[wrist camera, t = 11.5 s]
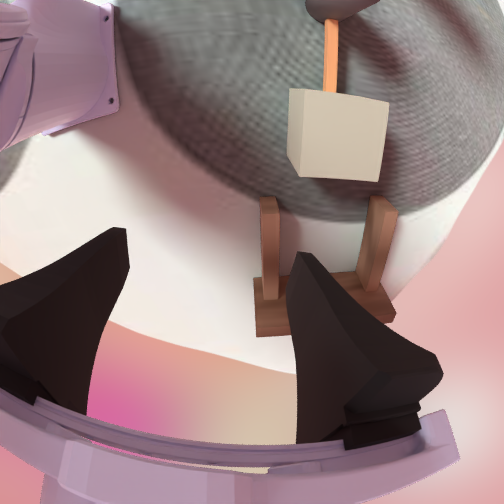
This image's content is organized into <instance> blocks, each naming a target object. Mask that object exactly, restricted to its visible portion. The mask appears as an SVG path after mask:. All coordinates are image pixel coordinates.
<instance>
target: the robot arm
mask: <svg viewBox="0 0 504 504" xmlns="http://www.w3.org/2000/svg"><path fill="white" fill-rule="evenodd" d="M107 17H109V19H108V20H107V21H106V22H105V19H106V18H107ZM111 98H113V99H114V102H113V104H111V103H110V99H111ZM118 110H119V98H118V88H117V78H116V66H115V49H114V6H113V4H111V3H106V4H104V5H101V6H97V5H95V4H92V3H89V2H87V1H84V0H16V1H14V2H12V3H11V4H6V3H0V152H1V151H2V150H4V149H6V148H8V147H10V146H12V145H14V144H16V143H18V142H20V141H23V140H25V139H27V138H29V137H31V136H34V135H36V134H39V133H42V135H44V136H46V135H48V134H51V133H53V132H56V131H59V130H61V129H64V128H67V127H70V126H73V125H76V124H79V123H82V122H85V121H88V120H91V119H95V118H98V117H102V116H105V115H109V114H113V113H115V112H117V111H118ZM129 269H130V264H129V255H128V246H127V235H126V229H125V228H117V227H112V228H110V229H108V230H107V231H105V232H103V233H101V234H100V235H98V236H97V237H95V238H93V239H92V240H90V241H89V242H87V243H85V244H84V245H82V246H81V247H79V248H77V249H76V250H74V251H72V252H71V253H69V254H67V255H66V256H64V257H62V258H61V259H59V260H57V261H55V262H54V263H52V264H50V265H48V266H46V267H44V268H42V269H40V270H38V271H36V272H33V273H31V274H29V275H26V276H24V277H22V278H19V279H17V280H14V281H11V282H8V283H5V284H2V285H0V445H1V446H2V447H4V448H5V449H7V450H8V451H10V452H11V453H12V454H14V455H16V456H17V457H19V458H20V459H22V460H23V461H25V462H26V463H28V464H30V465H31V466H33V467H35V468H36V469H38V470H40V471H42V472H43V473H45V475H44V480H43V486H42V493H41V499H40V504H360V503H363V502H367V501H370V500H373V499H376V498H379V497H382V496H384V495H387V494H390V493H392V492H395V491H397V490H400V489H402V488H405V487H407V486H409V485H412V484H414V483H416V482H418V481H420V480H423V479H425V478H427V477H429V476H431V475H433V474H435V473H437V472H439V471H441V470H443V469H444V468H446V467H448V466H450V465H452V464H454V463H456V462H457V461H459V460H460V456H459V452H458V449H457V445H456V442H455V439H454V436H453V432H452V429H451V426H450V423H449V420H448V417H447V414H446V411H445V410H444V409H442V410H439V411H436V412H433V413H430V414H427V415H424V416H423V417H420V418H418V415H417V412H418V411H420V409H421V407H420V404H419V401H420V400H421V399H422V398H424V397H425V396H426V395H427V394H428V393H429V392H431V391H432V390H433V389H434V388H435V387H436V386H437V385H438V384H439V382H440V381H441V380H442V377H443V374H444V373H443V371H442V368H441V366H440V364H439V361H438V359H437V357H436V355H435V354H433V353H432V352H430V351H428V350H425V349H424V348H422V347H420V346H417V345H416V344H414V343H412V342H410V341H409V340H407V339H405V338H404V337H402V336H400V335H399V334H397V333H396V332H394V331H393V330H391V329H390V328H389V327H387V326H386V325H384V324H383V323H382V322H380V321H379V320H378V319H376V318H375V317H374V316H373V315H371V314H370V313H369V312H368V311H367V310H366V309H364V308H363V307H362V306H361V305H360V304H359V303H358V302H357V301H356V300H355V299H354V298H353V297H352V296H351V295H350V294H349V293H348V292H346V290H345V289H344V288H343V287H342V286H341V285H340V284H339V283H338V282H337V281H336V280H335V279H334V278H333V276H332V275H331V274H330V273H329V272H328V271H327V270H326V269H325V267H324V266H323V265H322V264H321V263H320V262H319V261H318V260H317V259H316V257H315V256H314V255H313V254H312V253H306V252H298V251H297V255H296V258H295V261H294V264H293V267H292V270H291V273H290V276H289V279H288V282H287V285H286V288H285V289H286V308H287V314H288V320H289V325H290V330H291V336H292V341H293V346H294V352H295V359H296V374H297V432H296V433H297V434H296V444H291V445H238V444H221V443H210V442H209V443H208V442H200V441H192V440H185V439H178V438H172V437H165V436H161V435H155V434H150V433H146V432H141V431H137V430H132V429H129V428H125V427H120V426H117V425H114V424H110V423H107V422H104V421H100V420H97V419H94V418H91V417H88V416H86V414H87V413H86V412H87V401H88V393H89V386H90V380H91V375H92V369H93V365H94V361H95V356H96V352H97V349H98V345H99V342H100V338H101V335H102V332H103V330H104V327H105V325H106V323H107V321H108V318H109V316H110V314H111V312H112V310H113V308H114V305H115V303H116V301H117V299H118V297H119V295H120V293H121V291H122V289H123V286H124V284H125V281H126V278H127V275H128V272H129ZM81 436H82V437H81ZM83 437H84V438H83ZM85 438H87V439H85ZM88 439H90V440H93V441H96V442H99V443H102V444H105V445H108V446H112V447H115V448H119V449H122V450H126V451H130V452H134V453H138V454H143V455H147V456H151V457H156V458H161V459H167V460H173V461H179V462H186V463H194V464H203V465H213V466H228V467H270V468H269V469H268V473H266V474H257V473H256V474H255V473H243V472H237V471H231V470H221V469H211V468H202V467H194V466H186V465H179V464H173V463H167V462H161V461H156V460H151V459H146V458H142V457H137V456H134V455H130V454H126V453H122V452H119V451H115V450H112V449H108V448H105V447H102V446H99V445H96V444H93V443H92V442H91V441H90V440H88Z"/></svg>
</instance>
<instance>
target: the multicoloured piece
mask: <svg viewBox="0 0 504 504" xmlns="http://www.w3.org/2000/svg"><path fill="white" fill-rule="evenodd" d="M379 1H380V0H306V2H305V6H306V9H307V11H308V13H309V14H310V15H311V16H312V17H313V18H314V19H316V20H317V21H319V22H322V23H325V52H324V80H323V91H318V90H309V89H291V88H289V114H288V135H287V154H286V155H287V156H288V158H289V160H290V161H291V163H292V165H293V167H294V168H295V170H296V172H297V173H298V175H299V177H318V178H335V179H349V180H362V181H373V182H378V179H379V173H380V168H381V162H382V156H383V150H384V143H385V136H386V128H387V120H388V111H389V103H387V102H383V101H378V100H374V99H369V98H364V97H358V96H353V95H347V94H340V93H336V84H337V62H338V23H339V22H341V21H342V20H344V19H346V18H348V17H350V16H351V15H353V14H355V13H357V12H359V11H361V10H363V9H365V8H367V7H369V6H371V5H373V4H375V3H377V2H379Z"/></svg>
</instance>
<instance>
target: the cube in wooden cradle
mask: <svg viewBox="0 0 504 504" xmlns="http://www.w3.org/2000/svg"><path fill="white" fill-rule="evenodd" d="M397 216H398V211H397V210H396V209H395V208H394V207H393V206H392V205H391V204H390V203H389V202H388V201H387V200H386V199H385V198H384V197H383V196H377V195H370V199H369V206H368V212H367V218H366V223H365V229H364V234H363V239H362V244H361V249H360V254H359V258H358V263H357V267H356V271H353V272H339V273H330V274H331V275H332V276H333V278H334V279H335V280H336V281H337V282H338V283H339V284H340V285H341V286H342V287H343V288H344V289H345V290H346V292H348V293H349V294H350V295H351V296H352V297H353V298H354V299H355V300H356V301H357V302H358V303H359V304H360V305H361V306H362V307H363V308H364V309H366V310H367V311H368V312H369V313H370V314H371V315H373V316H374V317H375V318H376V319H378V320H379V321H380V322H382V323H383V324H385V323H391V322H393V320H394V318H395V315H396V311H395V309H394V307H393V305H392V303H391V301H390V299H389V298H388V296H387V294H386V292H385V290H384V288H383V286H382V285H381V283H380V280H381V277H382V273H383V270H384V267H385V263H386V260H387V256H388V253H389V249H390V245H391V241H392V237H393V233H394V229H395V225H396V221H397ZM260 224H261V260H262V277H260V278H253V282H254V301H255V321H256V337H271V336H285V335H291V330H290V325H289V320H288V314H287V308H286V289H285V288H286V285H287V282H288V279H289V276H279V243H280V212H279V208H278V205H277V201H276V197H275V196H269V197H260Z"/></svg>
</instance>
